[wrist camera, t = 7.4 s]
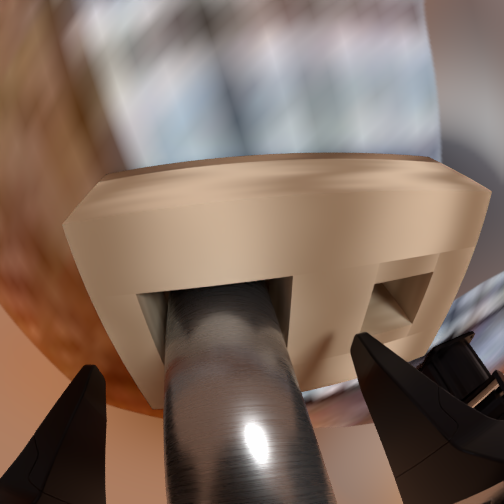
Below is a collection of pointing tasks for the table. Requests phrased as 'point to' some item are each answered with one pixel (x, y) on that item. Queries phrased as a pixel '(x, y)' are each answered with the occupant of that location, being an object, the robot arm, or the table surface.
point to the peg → (235, 404)
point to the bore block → (281, 251)
